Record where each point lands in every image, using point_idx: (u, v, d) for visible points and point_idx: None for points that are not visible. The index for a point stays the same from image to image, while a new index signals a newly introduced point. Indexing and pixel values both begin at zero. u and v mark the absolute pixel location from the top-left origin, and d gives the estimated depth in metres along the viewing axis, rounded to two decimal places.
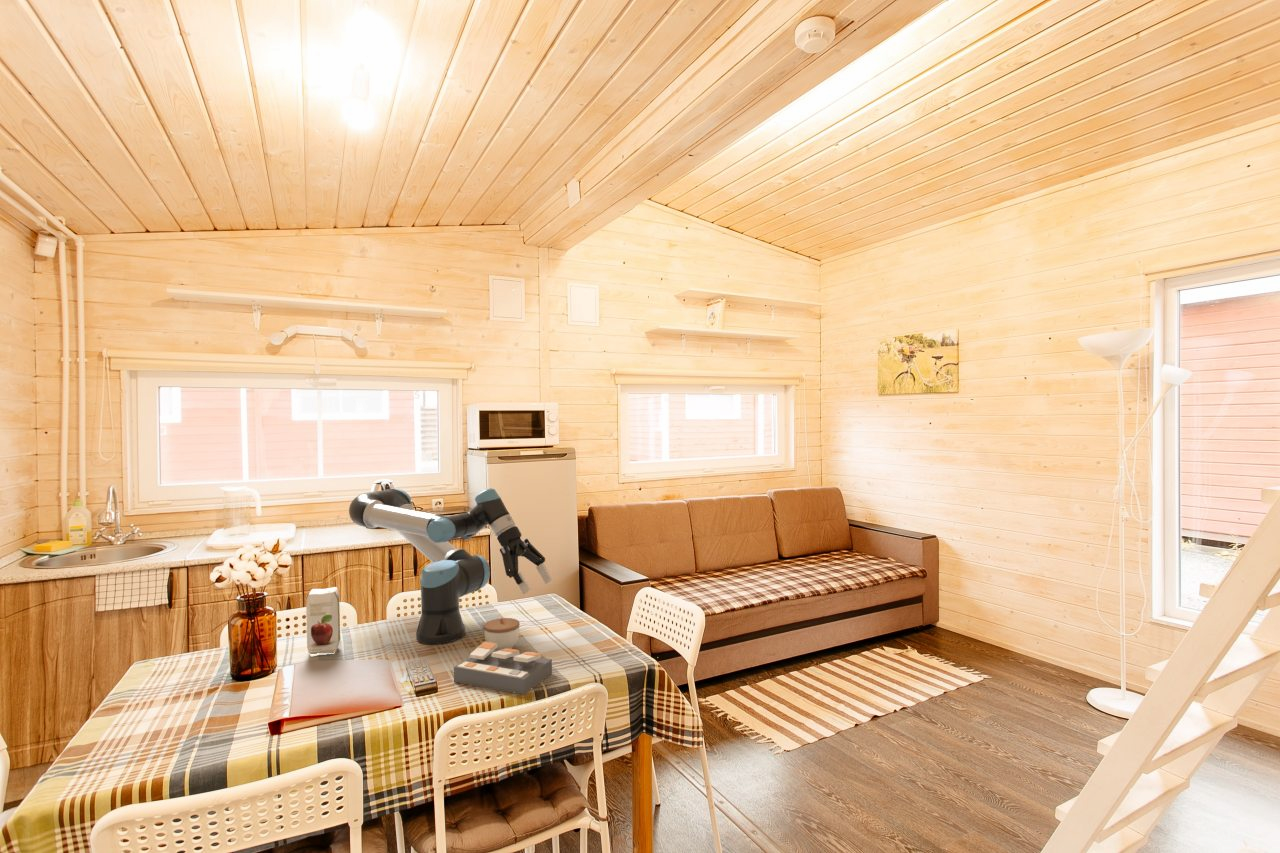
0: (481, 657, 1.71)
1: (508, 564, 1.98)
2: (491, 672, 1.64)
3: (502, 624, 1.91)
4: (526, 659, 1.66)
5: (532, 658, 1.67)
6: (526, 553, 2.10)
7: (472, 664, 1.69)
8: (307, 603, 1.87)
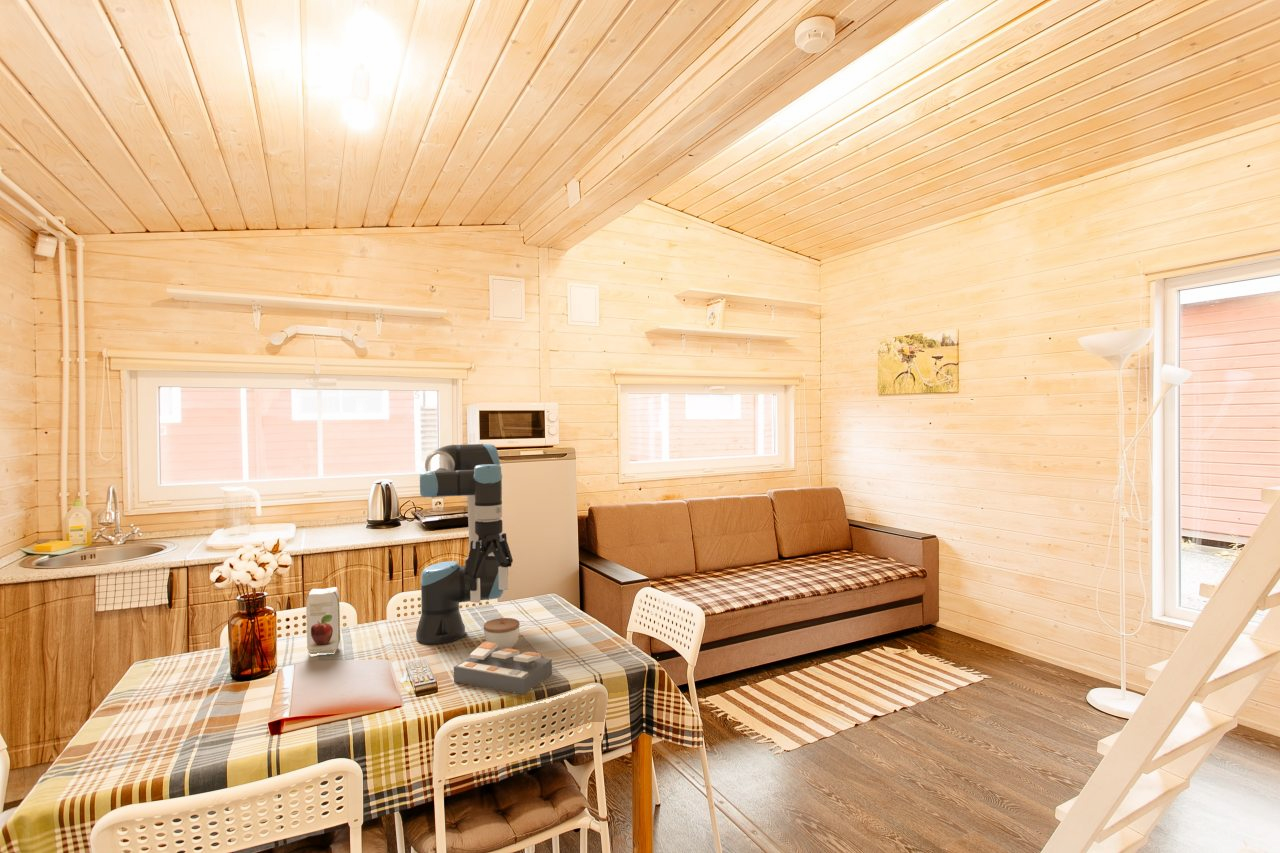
0: (481, 657, 1.71)
1: (471, 566, 1.68)
2: (491, 672, 1.64)
3: (502, 624, 1.91)
4: (526, 659, 1.66)
5: (532, 658, 1.67)
6: (496, 551, 1.79)
7: (472, 664, 1.69)
8: (307, 603, 1.87)
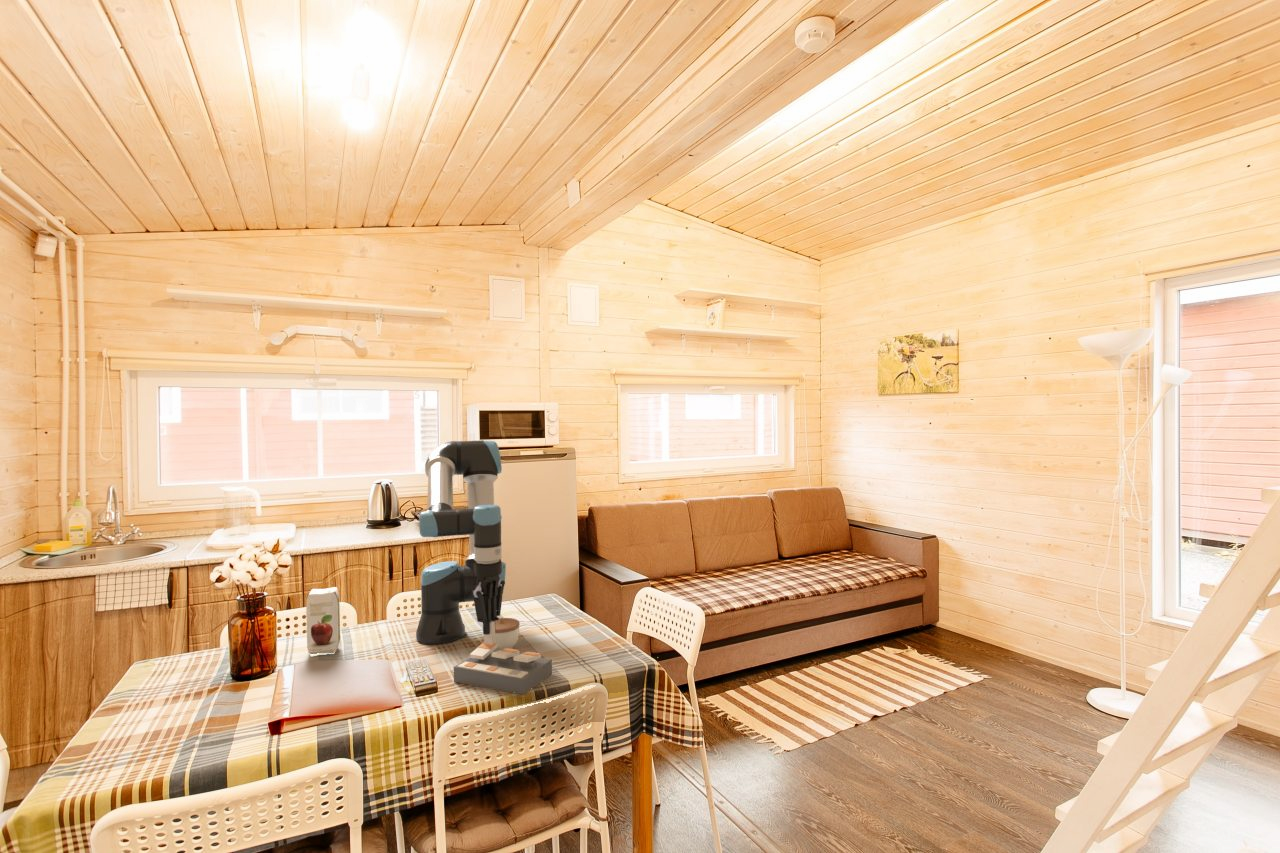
0: (481, 657, 1.71)
1: (481, 613, 1.72)
2: (491, 672, 1.64)
3: (502, 624, 1.91)
4: (526, 659, 1.66)
5: (532, 658, 1.67)
6: None
7: (472, 664, 1.69)
8: (307, 603, 1.87)
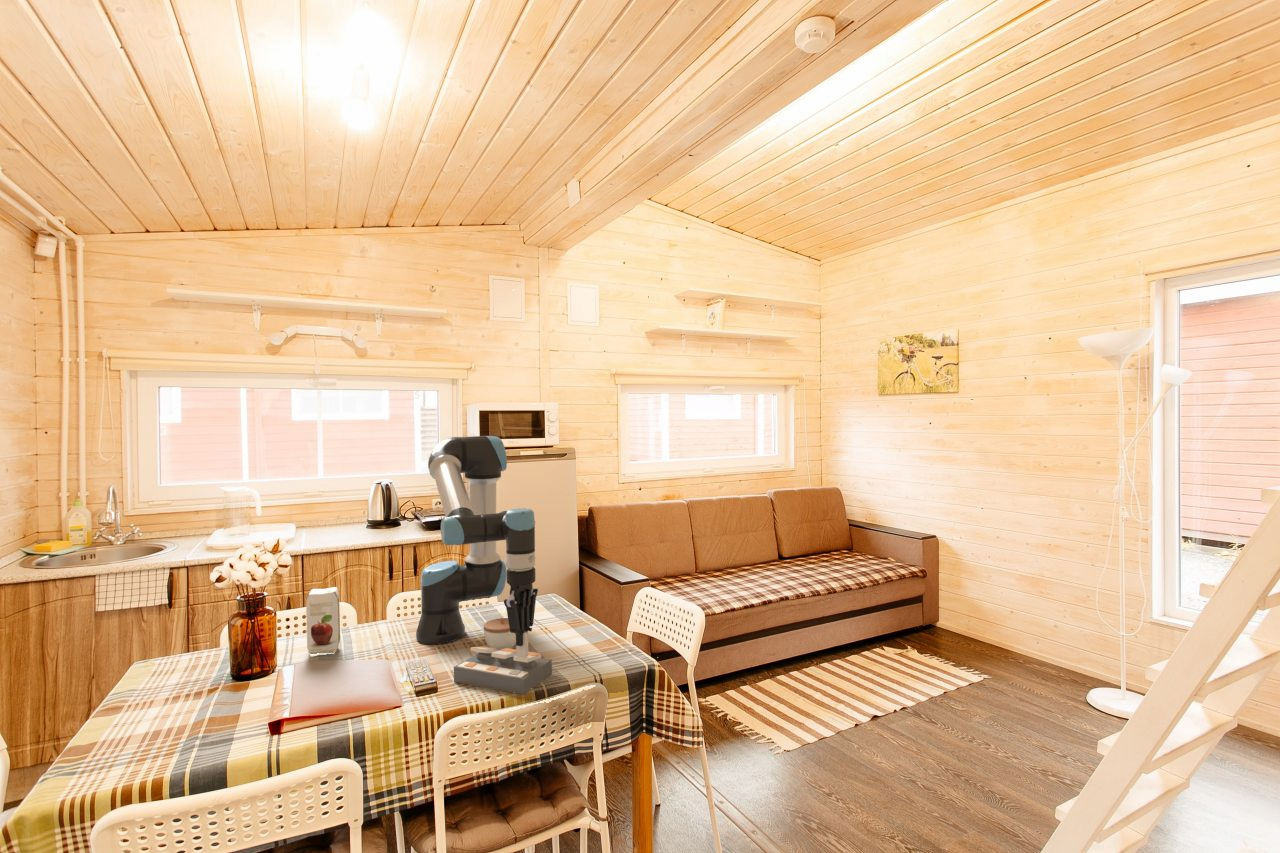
0: (482, 650, 1.71)
1: (514, 624, 1.62)
2: (491, 672, 1.64)
3: (502, 624, 1.91)
4: (526, 659, 1.66)
5: (532, 658, 1.67)
6: None
7: (472, 664, 1.69)
8: (307, 603, 1.87)
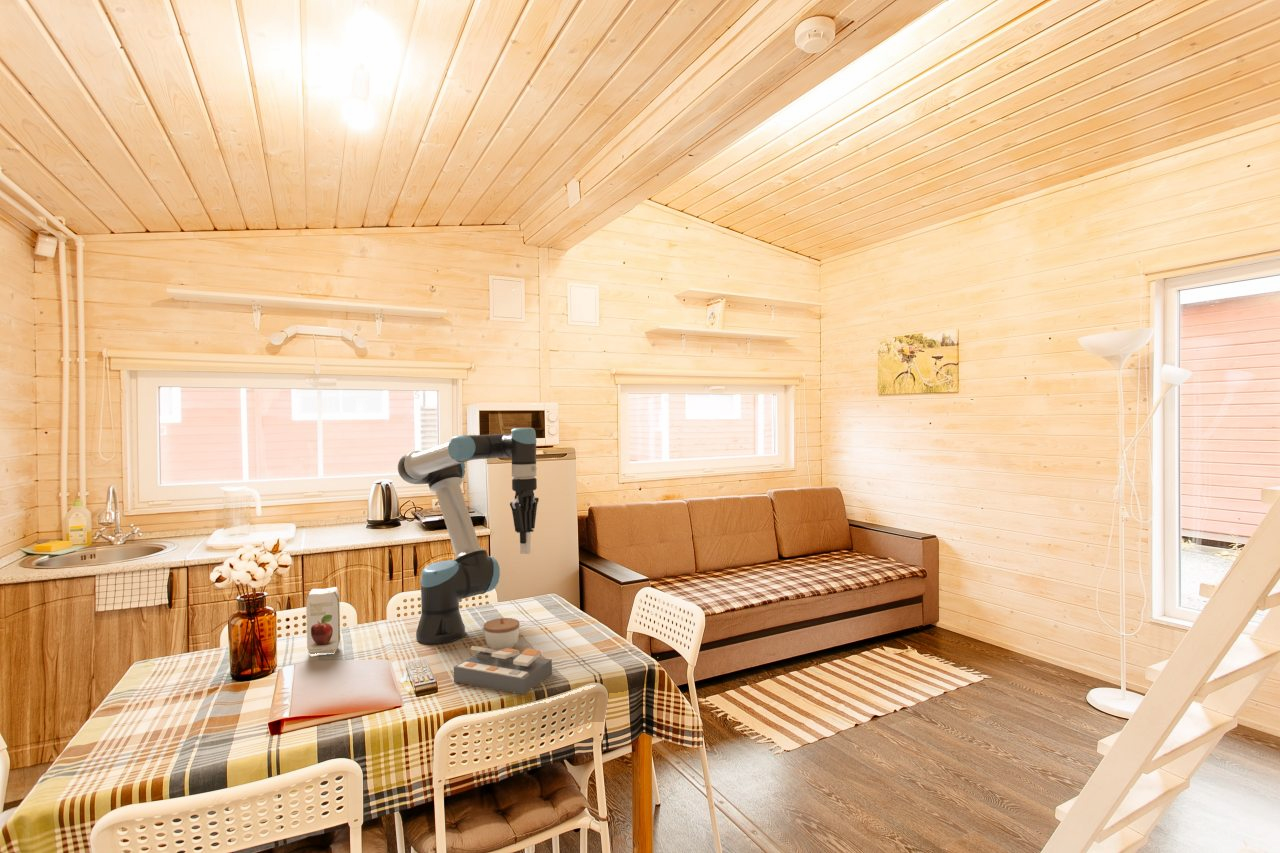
0: (483, 649, 1.71)
1: (518, 523, 1.91)
2: (491, 672, 1.64)
3: (502, 624, 1.91)
4: (525, 663, 1.65)
5: (532, 659, 1.67)
6: None
7: (472, 664, 1.69)
8: (307, 603, 1.87)
